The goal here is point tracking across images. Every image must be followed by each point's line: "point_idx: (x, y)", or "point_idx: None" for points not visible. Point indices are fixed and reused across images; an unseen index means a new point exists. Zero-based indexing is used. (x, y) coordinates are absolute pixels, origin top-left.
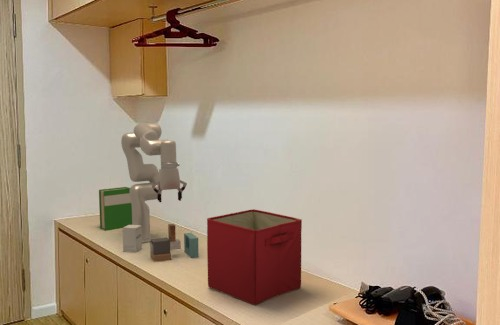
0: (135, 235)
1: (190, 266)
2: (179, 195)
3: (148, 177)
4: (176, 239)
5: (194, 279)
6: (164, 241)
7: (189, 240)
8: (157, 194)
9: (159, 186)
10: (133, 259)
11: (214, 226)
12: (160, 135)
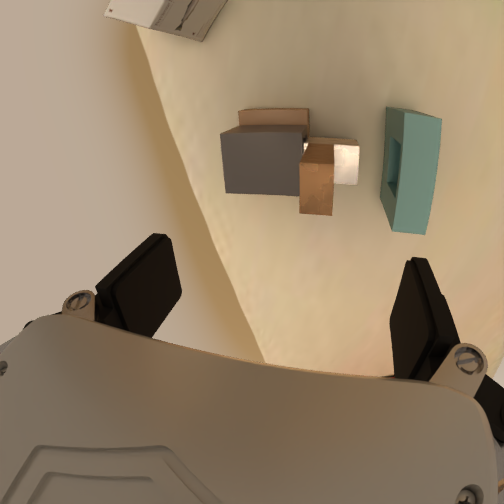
0: (166, 32)
1: (341, 274)
2: (394, 369)
3: None
4: (348, 149)
5: (310, 349)
6: (275, 194)
7: (393, 206)
8: (97, 301)
9: (26, 333)
10: (185, 127)
11: None
12: None
